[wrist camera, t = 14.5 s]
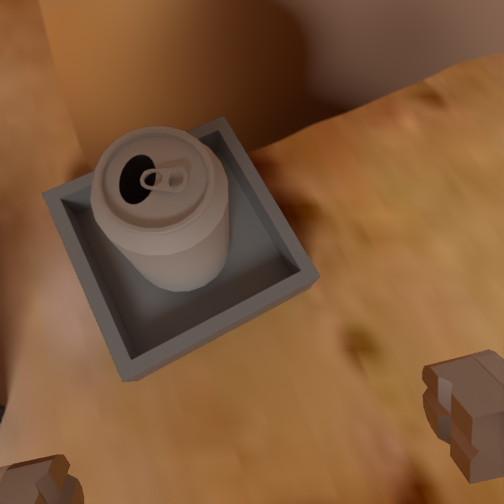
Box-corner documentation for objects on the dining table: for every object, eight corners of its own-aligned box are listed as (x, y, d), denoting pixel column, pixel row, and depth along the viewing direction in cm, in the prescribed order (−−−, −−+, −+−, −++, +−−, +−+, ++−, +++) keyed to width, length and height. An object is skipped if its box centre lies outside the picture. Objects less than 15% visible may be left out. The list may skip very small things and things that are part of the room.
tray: (224, 143, 35) (223, 115, 32) (309, 288, 32) (320, 276, 28) (64, 214, 33) (42, 193, 29) (137, 380, 29) (122, 382, 25)
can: (145, 199, 32) (97, 103, 21) (236, 210, 32) (237, 121, 21) (126, 287, 30) (60, 234, 19) (223, 300, 30) (216, 255, 19)
